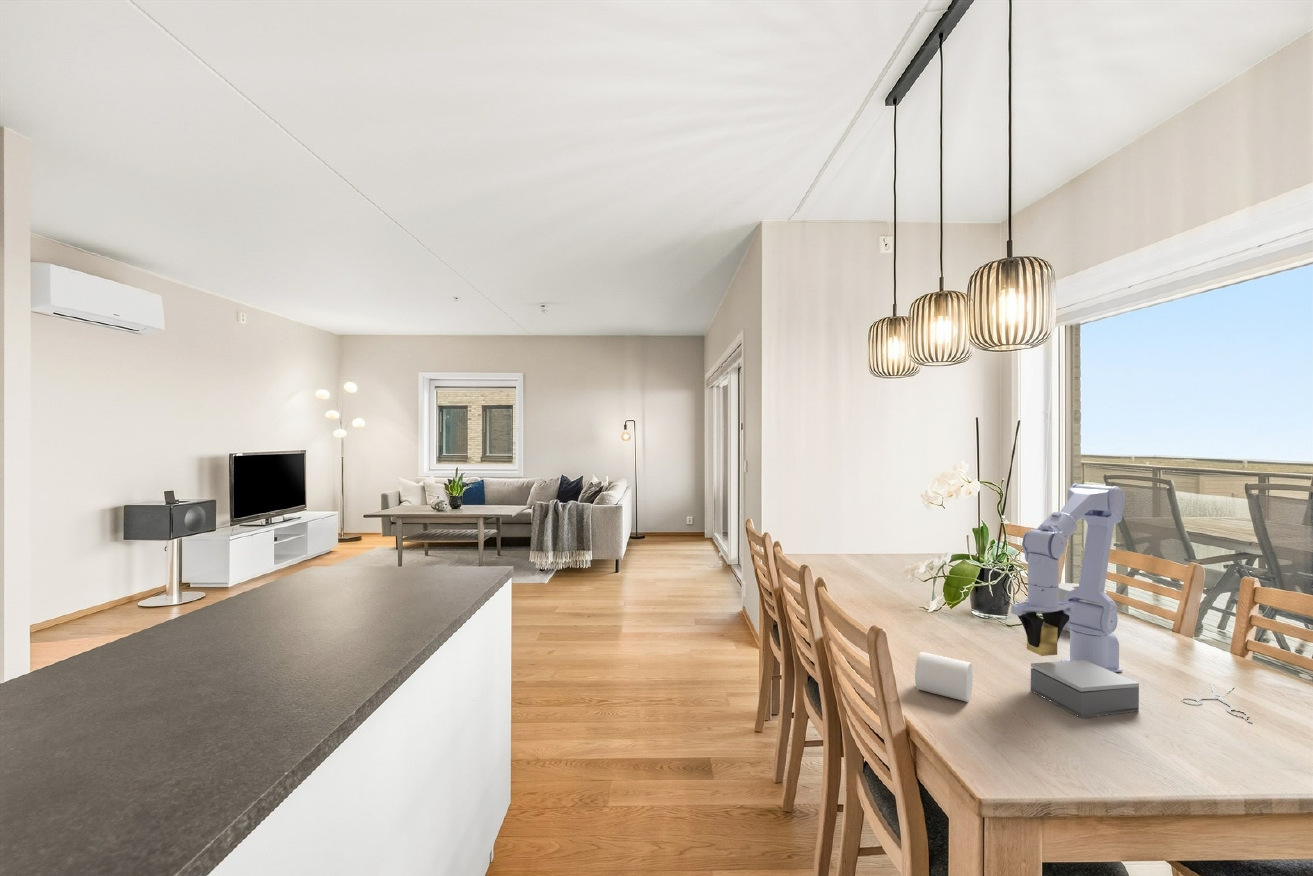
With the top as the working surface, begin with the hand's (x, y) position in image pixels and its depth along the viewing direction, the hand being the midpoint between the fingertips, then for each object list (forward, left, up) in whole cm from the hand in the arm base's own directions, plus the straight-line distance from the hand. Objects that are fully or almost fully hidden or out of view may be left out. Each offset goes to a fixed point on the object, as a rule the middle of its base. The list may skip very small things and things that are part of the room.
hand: (1042, 644), depth 127 cm
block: (0, 0, -2) cm, 2 cm away
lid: (-3, +7, -4) cm, 9 cm away
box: (-3, +7, -9) cm, 12 cm away
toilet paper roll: (-43, -30, -10) cm, 53 cm away
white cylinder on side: (+22, -3, -10) cm, 25 cm away
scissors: (-32, +12, -10) cm, 36 cm away
